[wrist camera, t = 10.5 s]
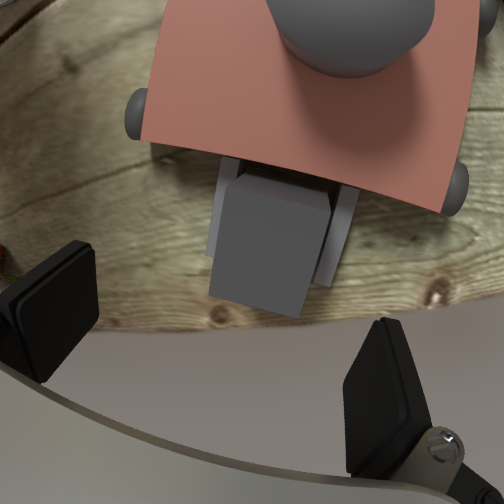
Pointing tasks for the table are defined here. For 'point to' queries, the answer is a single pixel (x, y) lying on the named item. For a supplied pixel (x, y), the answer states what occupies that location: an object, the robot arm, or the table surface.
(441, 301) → the table surface
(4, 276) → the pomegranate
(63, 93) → the table surface
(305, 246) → the dark grey rounded cube
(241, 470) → the robot arm
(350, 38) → the toy tractor cart
